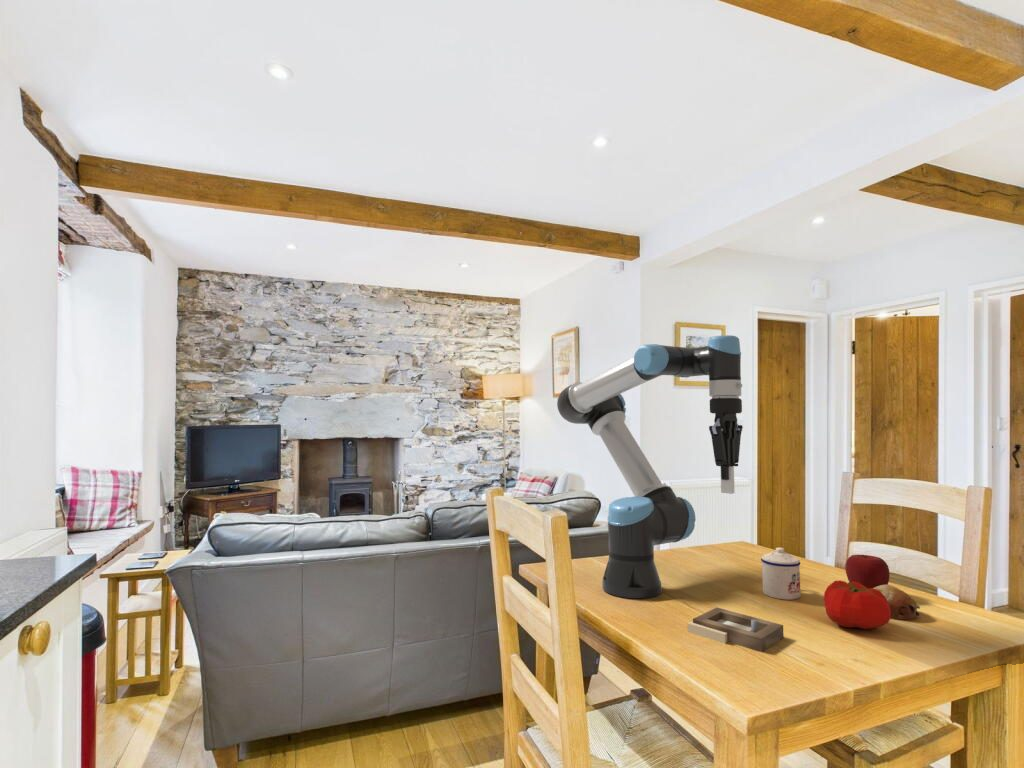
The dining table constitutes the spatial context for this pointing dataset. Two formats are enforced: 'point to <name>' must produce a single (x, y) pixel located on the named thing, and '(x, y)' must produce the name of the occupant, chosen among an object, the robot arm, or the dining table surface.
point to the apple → (867, 570)
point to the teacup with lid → (781, 575)
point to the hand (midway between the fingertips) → (727, 492)
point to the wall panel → (715, 631)
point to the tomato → (856, 605)
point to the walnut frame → (742, 628)
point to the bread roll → (899, 603)
